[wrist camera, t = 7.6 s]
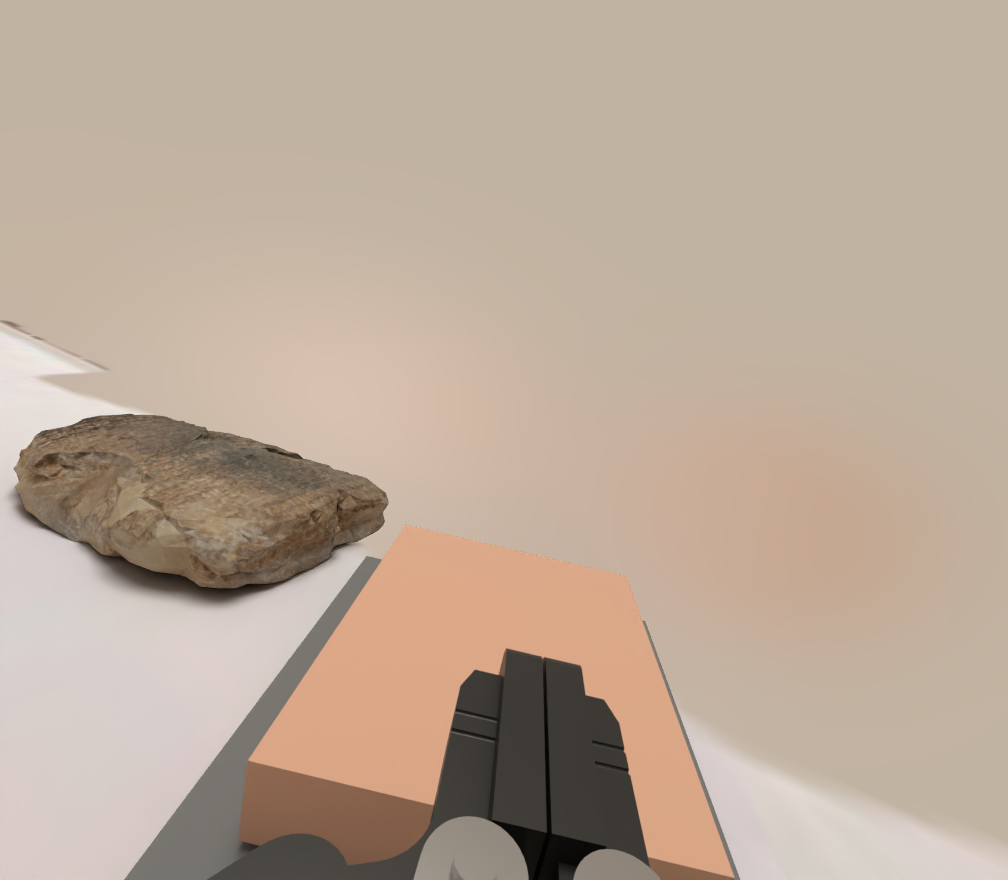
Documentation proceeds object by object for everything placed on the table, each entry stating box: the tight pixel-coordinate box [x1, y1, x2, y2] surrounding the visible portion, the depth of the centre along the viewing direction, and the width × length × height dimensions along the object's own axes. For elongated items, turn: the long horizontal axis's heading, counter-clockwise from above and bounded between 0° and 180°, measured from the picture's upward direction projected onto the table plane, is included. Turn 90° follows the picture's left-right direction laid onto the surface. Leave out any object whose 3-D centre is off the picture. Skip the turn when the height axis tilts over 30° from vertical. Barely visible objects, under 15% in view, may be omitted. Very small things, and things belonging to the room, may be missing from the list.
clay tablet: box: [14, 414, 388, 588], centre depth 30 cm, size 14×5×20 cm
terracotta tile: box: [238, 525, 734, 880], centre depth 20 cm, size 12×3×15 cm
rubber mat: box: [124, 556, 740, 880], centre depth 19 cm, size 16×19×1 cm
